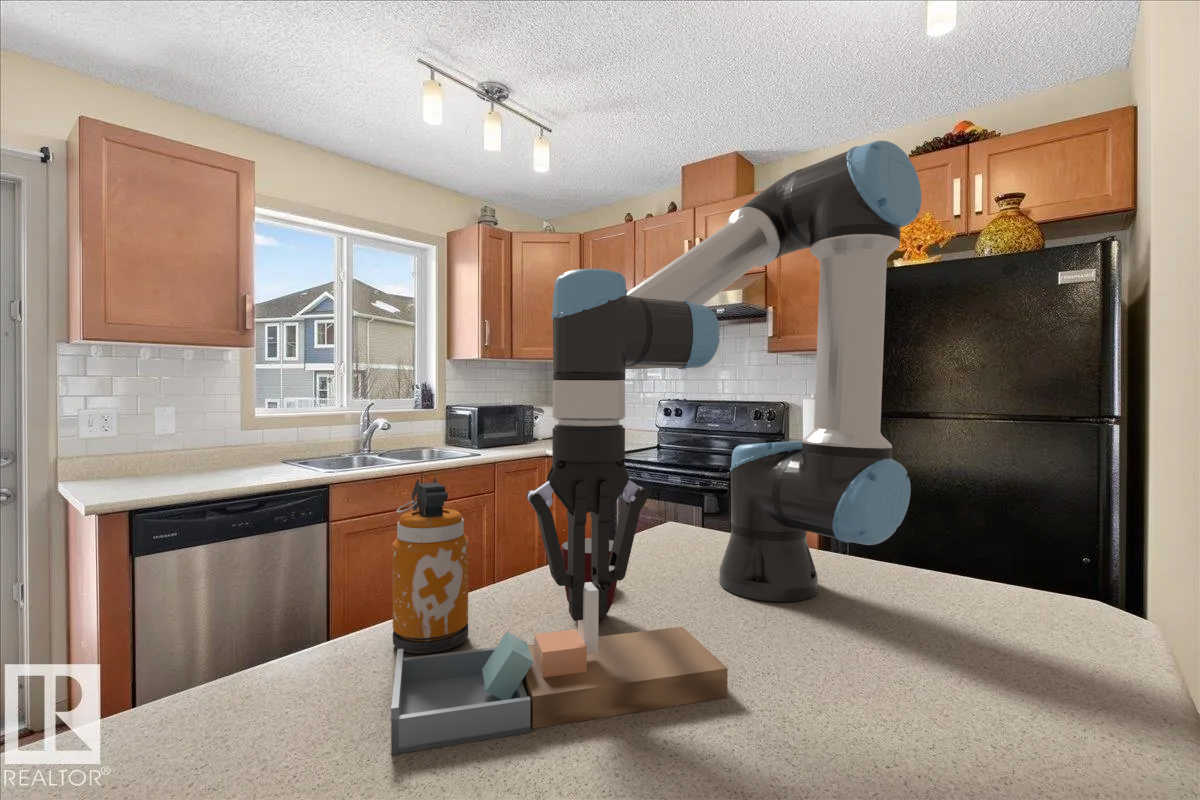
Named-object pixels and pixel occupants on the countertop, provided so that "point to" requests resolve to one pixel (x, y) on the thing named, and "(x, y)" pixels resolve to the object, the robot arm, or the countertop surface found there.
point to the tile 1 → (507, 666)
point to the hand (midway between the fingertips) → (587, 648)
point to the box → (450, 702)
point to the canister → (430, 574)
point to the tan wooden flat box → (628, 678)
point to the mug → (589, 570)
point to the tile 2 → (560, 653)
